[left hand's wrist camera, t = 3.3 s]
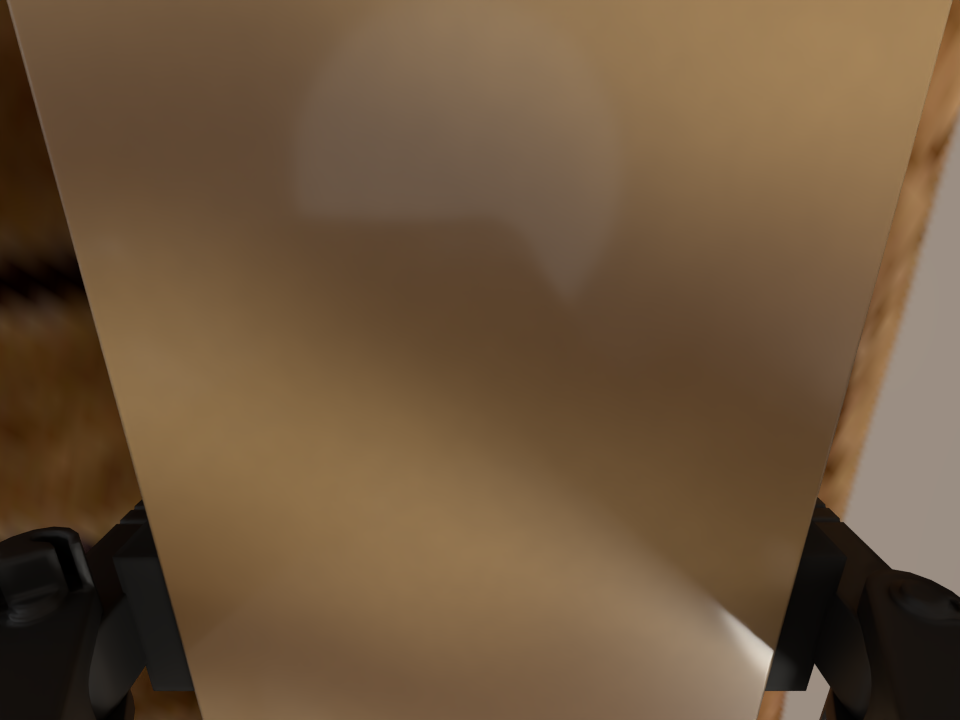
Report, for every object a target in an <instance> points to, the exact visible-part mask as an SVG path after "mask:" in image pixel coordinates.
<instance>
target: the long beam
mask: <svg viewBox="0 0 960 720" xmlns="http://www.w3.org/2000/svg"><path fill="white" fill-rule="evenodd" d="M952 1H953V0H7V4H8V8H9V11H10V15H11V19H12V22H13V26H14V30H15V33H16V37H17V41H18V44H19V48H20V52H21V55H22V59H23V63H24V66H25V70H26V74H27V77H28V81H29V85H30V88H31V92H32V96H33V99H34V103H35V107H36V110H37V114H38V118H39V121H40V125H41V129H42V132H43V136H44V140H45V143H46V147H47V151H48V154H49V158H50V162H51V165H52V169H53V173H54V176H55V180H56V184H57V187H58V191H59V195H60V198H61V202H62V206H63V209H64V213H65V217H66V220H67V224H68V228H69V231H70V235H71V239H72V242H73V246H74V250H75V253H76V257H77V261H78V264H79V268H80V272H81V275H82V279H83V283H84V286H85V290H86V294H87V297H88V301H89V305H90V308H91V312H92V316H93V319H94V323H95V327H96V330H97V334H98V338H99V341H100V345H101V349H102V352H103V356H104V360H105V363H106V367H107V371H108V374H109V378H110V382H111V385H112V389H113V393H114V396H115V400H116V404H117V407H118V411H119V415H120V418H121V422H122V426H123V429H124V433H125V437H126V440H127V444H128V448H129V451H130V455H131V459H132V462H133V466H134V470H135V473H136V477H137V481H138V484H139V488H140V492H141V495H142V499H143V503H144V506H145V510H146V514H147V517H148V521H149V525H150V528H151V532H152V536H153V539H154V543H155V547H156V550H157V554H158V558H159V561H160V565H161V569H162V572H163V576H164V580H165V583H166V587H167V591H168V594H169V598H170V602H171V605H172V609H173V613H174V616H175V620H176V624H177V627H178V631H179V635H180V638H181V642H182V646H183V649H184V653H185V657H186V660H187V664H188V668H189V671H190V675H191V679H192V682H193V686H194V690H195V693H196V697H197V701H198V704H199V708H200V712H201V715H202V719H203V720H757V717H758V714H759V710H760V706H761V703H762V699H763V695H764V691H765V688H766V684H767V680H768V677H769V673H770V669H771V666H772V662H773V658H774V655H775V651H776V647H777V644H778V640H779V636H780V633H781V629H782V625H783V622H784V618H785V614H786V611H787V607H788V603H789V600H790V596H791V592H792V589H793V585H794V581H795V578H796V574H797V570H798V567H799V563H800V559H801V556H802V552H803V548H804V545H805V541H806V537H807V533H808V530H809V526H810V522H811V519H812V515H813V511H814V508H815V504H816V500H817V497H818V493H819V489H820V486H821V482H822V478H823V475H824V471H825V467H826V464H827V460H828V456H829V453H830V449H831V445H832V442H833V438H834V434H835V431H836V427H837V423H838V420H839V416H840V412H841V409H842V405H843V401H844V398H845V394H846V390H847V387H848V383H849V379H850V375H851V372H852V368H853V364H854V361H855V357H856V353H857V350H858V346H859V342H860V339H861V335H862V331H863V328H864V324H865V320H866V317H867V313H868V309H869V306H870V302H871V298H872V295H873V291H874V287H875V284H876V280H877V276H878V273H879V269H880V265H881V262H882V258H883V254H884V251H885V247H886V243H887V240H888V236H889V232H890V228H891V225H892V221H893V217H894V214H895V210H896V206H897V203H898V199H899V195H900V192H901V188H902V184H903V181H904V177H905V173H906V170H907V166H908V162H909V159H910V155H911V151H912V148H913V144H914V140H915V137H916V133H917V129H918V126H919V122H920V118H921V115H922V111H923V107H924V104H925V100H926V96H927V93H928V89H929V85H930V82H931V78H932V74H933V70H934V67H935V63H936V59H937V56H938V52H939V48H940V45H941V41H942V37H943V34H944V30H945V26H946V23H947V19H948V15H949V12H950V8H951V4H952Z"/></svg>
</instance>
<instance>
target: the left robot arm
mask: <svg viewBox="0 0 960 720" xmlns="http://www.w3.org/2000/svg"><path fill="white" fill-rule="evenodd" d="M814 663H815V665H816V666H817V668H818V669H819V671H820V672H821V674H822V675H823V677H824V678H825V680H826V681H827V683H828V684H829V686H830V690H829V693H828V696H827V699H826V702H825V705H824V708H823V711H822V714H821V717H820V720H960V597H959V596H957V595H956V594H955V593H954V592H952V591H950V590H949V589H947V588H945V587H943V586H941V585H939V584H938V583H936V582H934V581H932V580H930V579H927V578H924V577H921V576H919V575H916V574H913V573H910V572H904V571H899V570H893V569H891V568H890V567H889V566H888V565H887V564H886V563H885V562H884V561H883V560H882V559H881V558H880V557H879V556H878V555H877V554H876V553H875V552H874V551H873V550H872V549H871V548H870V547H869V546H868V545H866V544H865V543H864V542H863V541H862V540H861V539H860V538H859V537H858V536H857V535H856V534H855V533H854V532H853V531H852V530H851V529H850V528H849V527H848V526H847V525H846V524H845V523H844V522H840V518H839V517H838V516H837V515H835V514H834V513H833V512H832V511H831V510H830V509H829V508H826V507H825V504H824V503H823V502H822V501H821V500H820V499H819V498H818V497H817V500H816V504H815V508H814V511H813V515H812V519H811V522H810V526H809V530H808V533H807V537H806V541H805V545H804V548H803V552H802V556H801V559H800V563H799V567H798V570H797V574H796V578H795V581H794V585H793V589H792V592H791V596H790V600H789V603H788V607H787V611H786V614H785V618H784V622H783V625H782V629H781V633H780V636H779V640H778V644H777V647H776V651H775V655H774V658H773V662H772V666H771V669H770V673H769V677H768V680H767V684H766V688H765V691H806V689H807V686H808V682H809V679H810V676H811V673H812V670H813V666H814ZM145 666H146V668H147V671H148V674H149V677H150V681H151V684H152V687H153V690H154V691H195V690H194V686H193V682H192V679H191V675H190V671H189V668H188V664H187V660H186V657H185V653H184V649H183V646H182V642H181V638H180V635H179V631H178V627H177V624H176V620H175V616H174V613H173V609H172V605H171V602H170V598H169V594H168V591H167V587H166V583H165V580H164V576H163V572H162V569H161V565H160V561H159V558H158V554H157V550H156V547H155V543H154V539H153V536H152V532H151V528H150V525H149V521H148V517H147V514H146V510H145V506H144V503H143V499H142V500H141V501H140V502H139V503H138V504H137V505H136V506H135V509H134V510H131V511H130V512H129V513H128V514H127V515H126V516H124V517H123V518H122V519H121V520H120V524H116V525H115V526H114V527H113V528H112V529H111V530H110V531H109V532H108V533H107V534H106V535H105V536H104V537H103V538H102V539H101V540H100V541H99V542H98V543H97V544H96V545H95V546H94V547H93V548H92V549H91V550H90V551H89V552H88V553H87V554H85V552H84V549H83V546H82V543H81V540H80V537H79V534H78V533H77V532H75V531H74V530H72V529H71V528H65V527H49V528H42V529H36V530H32V531H29V532H25V533H22V534H19V535H16V536H13V537H10V538H8V539H6V540H4V541H2V542H0V720H134V713H135V706H134V700H133V696H132V693H131V690H130V688H131V686H132V685H133V683H134V682H135V680H136V679H137V677H138V676H139V674H140V673H141V671H142V670H143V669H144V667H145Z"/></svg>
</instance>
